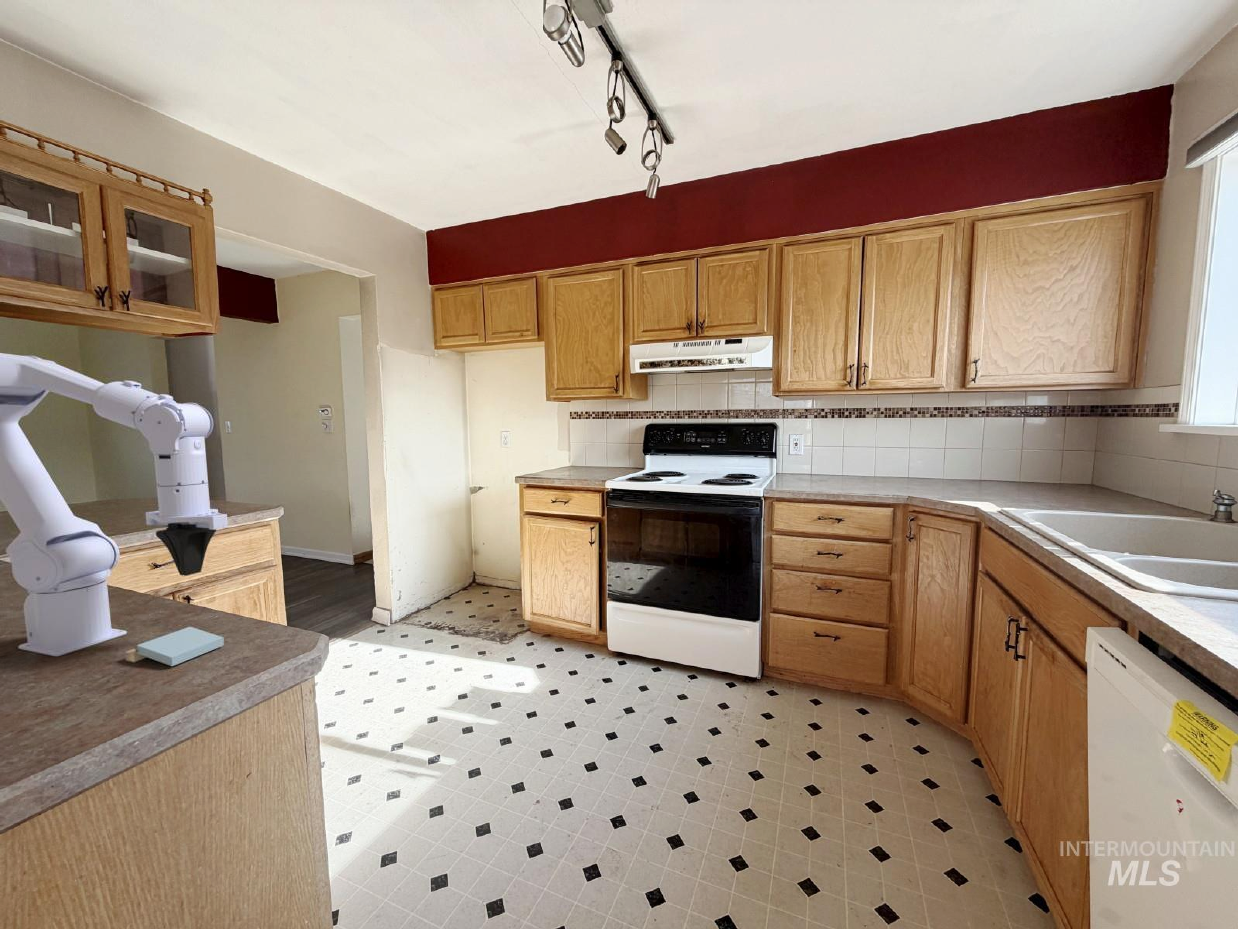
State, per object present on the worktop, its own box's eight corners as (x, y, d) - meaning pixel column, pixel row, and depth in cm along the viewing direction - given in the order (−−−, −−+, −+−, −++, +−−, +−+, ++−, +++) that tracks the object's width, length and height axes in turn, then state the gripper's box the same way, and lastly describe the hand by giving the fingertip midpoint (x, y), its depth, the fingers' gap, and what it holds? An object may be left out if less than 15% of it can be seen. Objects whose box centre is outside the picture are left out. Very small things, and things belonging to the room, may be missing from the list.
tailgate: (134, 644, 67) (172, 657, 64) (188, 626, 73) (223, 637, 71) (135, 652, 67) (172, 666, 65) (188, 633, 73) (223, 645, 71)
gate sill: (125, 660, 67) (125, 652, 67) (184, 639, 74) (183, 631, 74) (134, 662, 66) (133, 653, 66) (192, 640, 73) (191, 632, 73)
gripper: (246, 482, 74) (252, 569, 75) (180, 480, 78) (187, 562, 80) (193, 488, 67) (201, 583, 68) (125, 485, 72) (133, 575, 73)
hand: (190, 573), depth 74 cm, fingers closed
